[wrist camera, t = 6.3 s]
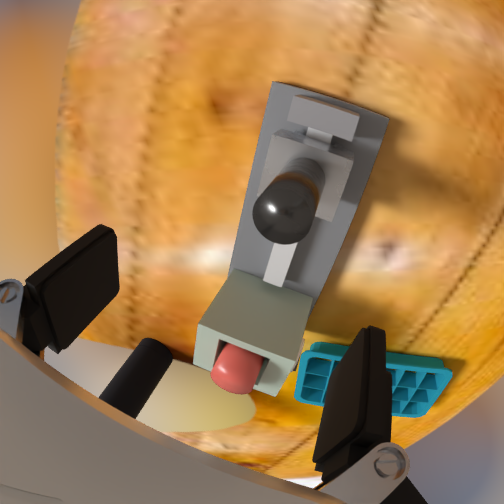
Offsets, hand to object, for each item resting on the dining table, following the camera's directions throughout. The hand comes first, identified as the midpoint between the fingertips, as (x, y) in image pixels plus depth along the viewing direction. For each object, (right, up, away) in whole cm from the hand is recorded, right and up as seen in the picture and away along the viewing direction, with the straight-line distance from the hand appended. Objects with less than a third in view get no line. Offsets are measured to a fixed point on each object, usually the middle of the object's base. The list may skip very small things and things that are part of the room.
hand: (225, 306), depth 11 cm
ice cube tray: (+17, -15, +28) cm, 36 cm away
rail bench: (+5, +5, +20) cm, 21 cm away
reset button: (+1, -7, +20) cm, 21 cm away
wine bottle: (-15, -15, +40) cm, 45 cm away
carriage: (+6, +9, +15) cm, 18 cm away
